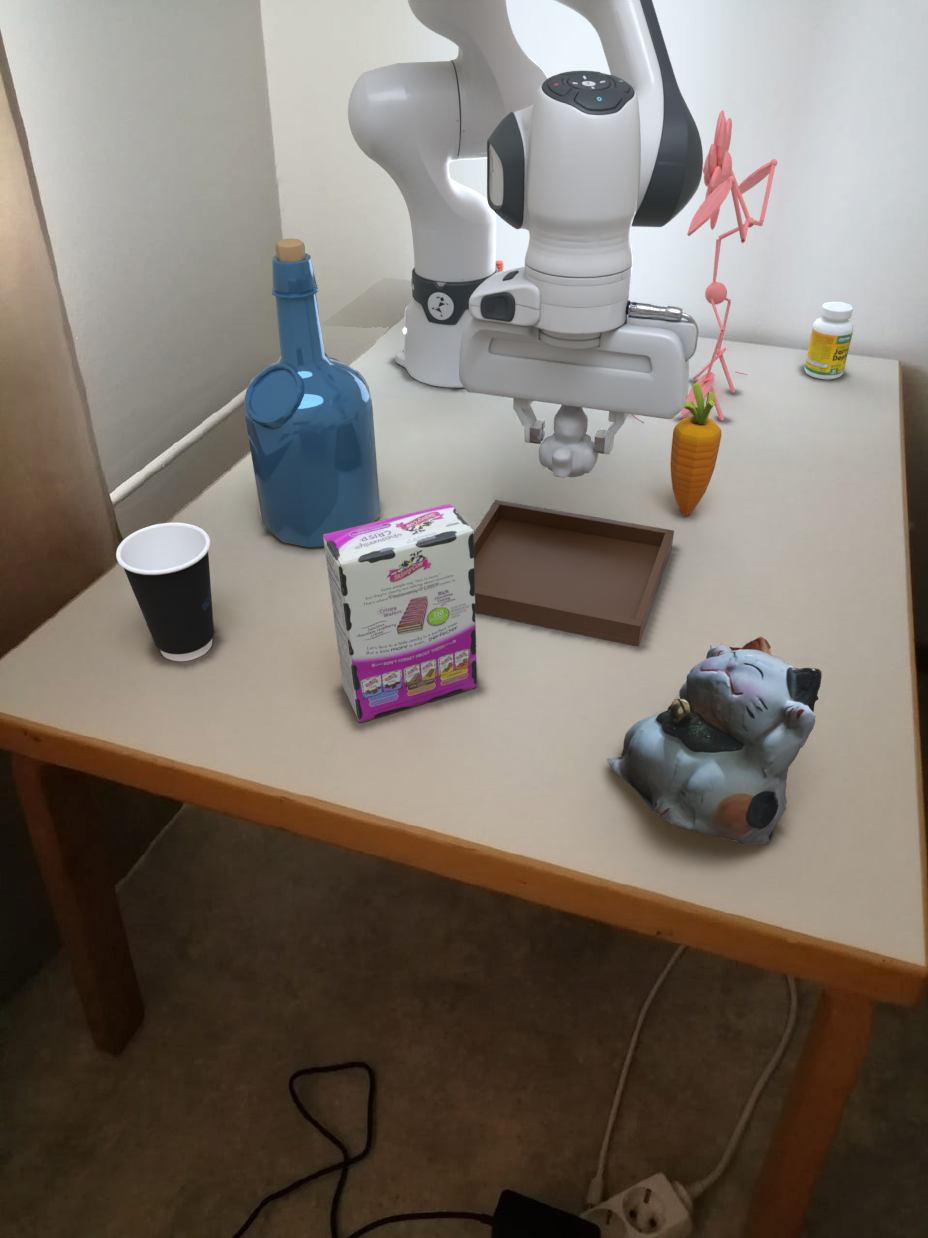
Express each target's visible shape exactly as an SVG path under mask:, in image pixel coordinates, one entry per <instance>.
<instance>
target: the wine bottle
mask: <svg viewBox="0 0 928 1238" xmlns="http://www.w3.org/2000/svg"><path fill="white" fill-rule="evenodd" d="M274 248H275V255H274V256H272V257H271V264H272V265H271V270H272V271H271V272H272V273H271V274H272V288H271V295H272V296H274V297H275V307H276V318H277V328H278V329H277V330H278V338H279V350H280V356H279V358H278V360H277V361H274V362H272V363H271V364H269V365H268V366H267V367H266V368H264V369H263V370H261V371H260V372H259V373H258V374H257V375H255V376H254V377H253V378H252V379H251V381H250V382H249V384H248V385H247V388H246V391H245V395H244V418H245V423H246V431H247V436H248V442H249V443H248V444H249V448H250V455H251V460H252V462H251V463H252V468H253V474H254V479H255V487H256V492H257V498H258V504H259V511H260V517H261V522H262V525H263V526H264V528H265V530H267V531H268V532H269V533H270V534H272V535H273V536H275V537H276V538H277V539H278V540H280V541H281V542H282V543H286V544H291V545H297V546H301V547H304V548H305V547H306V548H316V547H324V541H323V535H324V534H328V533H332V532H336V531H340V530H345V529H349V528H353V527H357V526H361V525H365V524H369V523H373V522H377V521H378V518H379V516H380V514H381V502H380V500H381V499H380V488H379V475H378V464H377V463H378V462H377V448H376V435H375V422H374V421H375V420H374V408H373V407H374V406H373V401H372V395H371V392H370V387H369V384H368V382H367V380H366V379H365V377H364V376H363V375H362V374H361V372H359V371H358V370H357V369H355V368H354V367H353V366H352V367H351V366H350V365H348V364H346V363H344V362H342V361H340V360H338V359H336V358H335V357H329V356H328V354H327V353H326V351H325V349H324V342H323V334H322V326H321V319H320V313H319V305H318V298H317V293H319V285H318V284H317V280H316V275H315V271H314V267H313V262H312V257H311V256H312V255H310V254H308V253H306V245H305V243H304V242H303V240H301V239H298V238H285V239H281V240H279V241H277V242H276V243H275V245H274Z"/></svg>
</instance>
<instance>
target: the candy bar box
mask: <svg viewBox="0 0 928 1238" xmlns="http://www.w3.org/2000/svg"><path fill="white" fill-rule="evenodd" d="M473 534H474V529H473V528H472V527H471V525H469V524H468V522H467V521H466V520H464V518H463V517H462V516H461V515H460V513H458V512H457V508H456V507H454V506H453V504H451V503H447V504H443V505H439V506H435V507H431V508H427V509H423V510H418V511H415V512H414V511H413V512H410V513H406V514H402V515H398V516H394V517H390V518H386V519H381V520H376V521H375V522H373V523H369V524H365V525H361V526H357V527H353V528H349V529H345V530H340V531H336V532H332V533H328V534H324V535H323V541H324V546H323V548H324V555H325V563H326V569H327V576H328V584H329V591H330V599H331V607H332V614H333V615H332V616H333V622H334V630H335V636H336V642H337V643H336V644H337V652H338V658H339V667H340V673H341V681H342V687H343V691H344V694H345V696H346V698H347V700H348V701H349V703H350V705H351V707H352V710H353V711H354V714H355V716H356V719H357V720H358V722H359V723H364V722H368V721H371V720H374V719H377V718H381V717H384V716H387V715H391V714H394V713H398V712H400V711H403V710H407V709H410V708H414V707H417V706H419V705H423V704H426V703H430V702H433V701H436V700H440V699H442V698H445V697H449V696H451V695H455V694H458V693H461V692H465V691H467V690H468V691H469V690H472V689H475V688H477V687H478V664H477V657H478V655H477V629H476V628H477V625H476V624H477V623H476V613H475V573H474V538H473Z"/></svg>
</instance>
